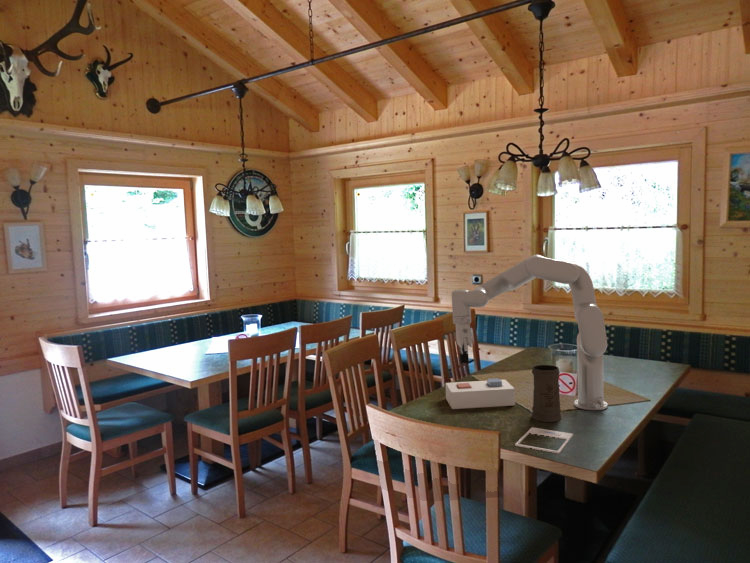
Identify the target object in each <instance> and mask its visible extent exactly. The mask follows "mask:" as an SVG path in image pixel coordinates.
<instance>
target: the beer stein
mask: <svg viewBox="0 0 750 563" xmlns="http://www.w3.org/2000/svg"><path fill="white" fill-rule="evenodd" d="M531 375H533V398H532V399H533V400H532V413H531V418H532V419H534V420H535V421H537V422H541V421H542V423H554V422H559V421H561V419H562V414H561V402H560V401H561V400H560V398H561V397H560V383H559V380H560V379H559V378H560V368H559V367H558V366H556V365H552V364H538V365H535V366H533V367H532V370H531Z"/></svg>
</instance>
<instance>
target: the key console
mask: <svg viewBox="0 0 750 563" xmlns="http://www.w3.org/2000/svg"><path fill="white" fill-rule="evenodd" d="M500 380H501V381H502V387H489V386H488V385H487V380H475V381H473V380H472V381H457V382H456V381H455V382H454V381H453V382H445V399H446V401H447V402H448V404H449V406H450V408H451V409H452V410H461V409H476V408H494V407H507V406H509V407H510V406H516V392H515V387H514V386H512V384H511V383H510V382H508V381H507V379H500ZM458 383H469V384H470V386H471V388H468V389H458V388H457V384H458Z"/></svg>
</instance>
